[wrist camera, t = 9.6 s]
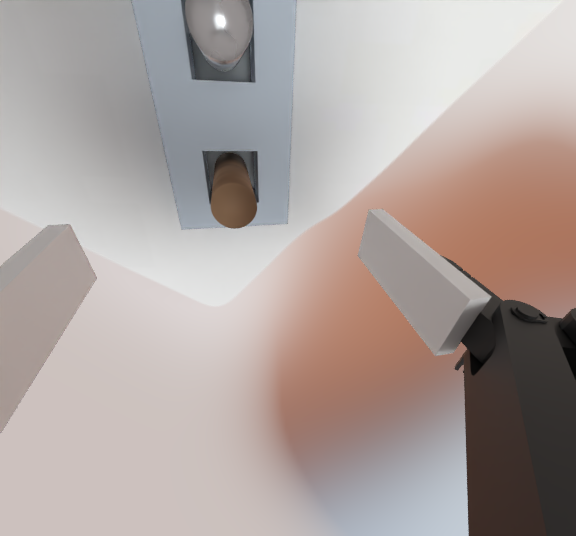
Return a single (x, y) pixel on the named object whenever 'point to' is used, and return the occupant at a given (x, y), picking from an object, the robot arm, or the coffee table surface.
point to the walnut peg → (232, 192)
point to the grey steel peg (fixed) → (220, 29)
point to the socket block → (222, 107)
